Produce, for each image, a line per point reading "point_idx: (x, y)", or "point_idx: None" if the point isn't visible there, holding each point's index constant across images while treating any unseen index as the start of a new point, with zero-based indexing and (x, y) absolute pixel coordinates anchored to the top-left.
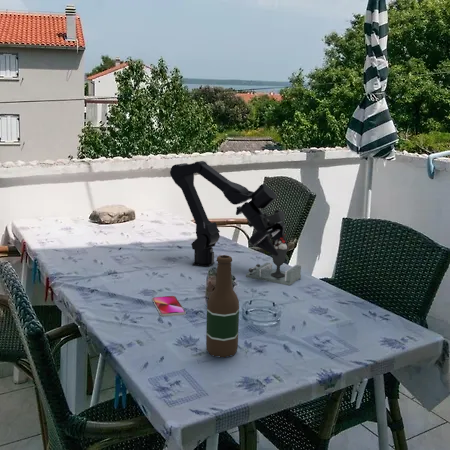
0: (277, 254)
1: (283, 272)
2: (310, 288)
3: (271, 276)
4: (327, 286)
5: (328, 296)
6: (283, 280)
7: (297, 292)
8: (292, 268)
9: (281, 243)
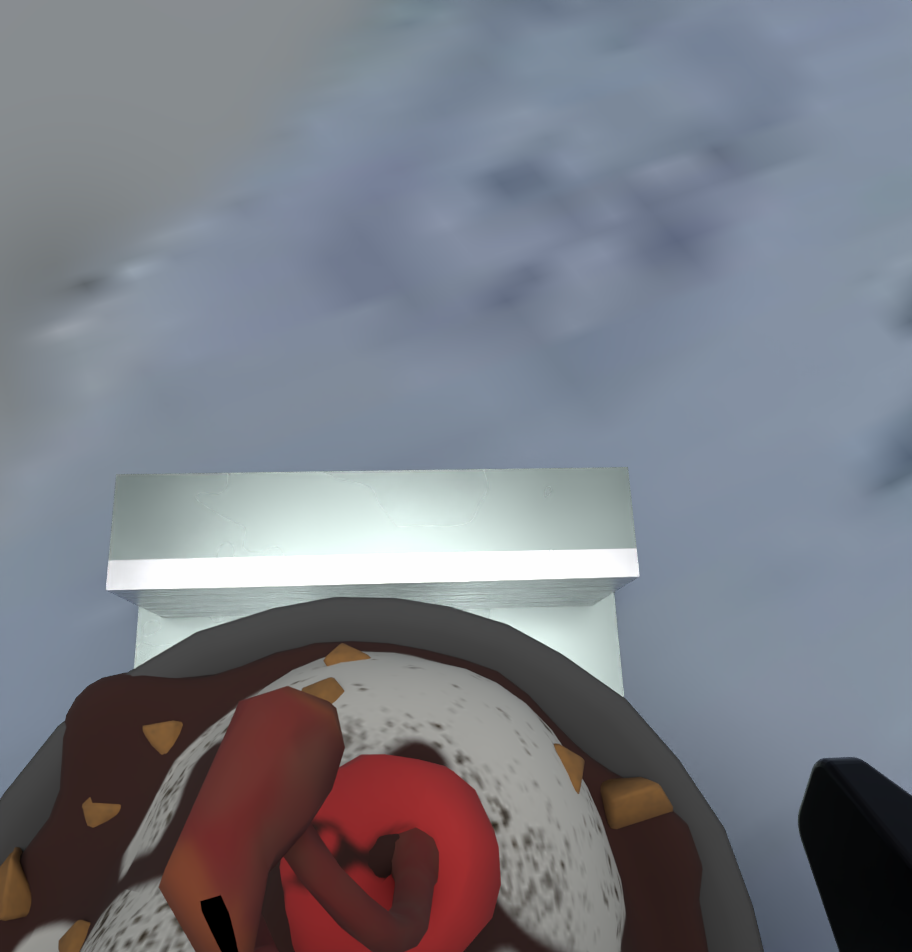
0: (863, 777)
1: None
2: (530, 265)
3: None
4: (330, 130)
5: (653, 36)
6: (580, 637)
7: (770, 339)
8: (394, 537)
9: (524, 907)
